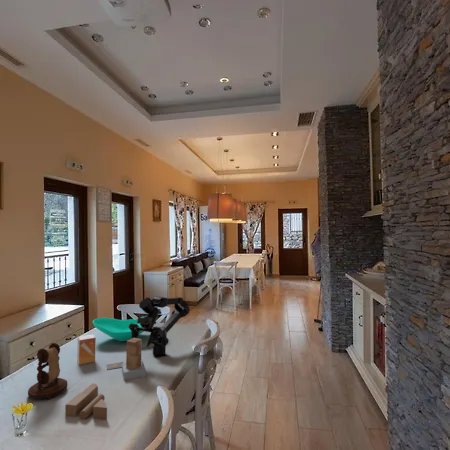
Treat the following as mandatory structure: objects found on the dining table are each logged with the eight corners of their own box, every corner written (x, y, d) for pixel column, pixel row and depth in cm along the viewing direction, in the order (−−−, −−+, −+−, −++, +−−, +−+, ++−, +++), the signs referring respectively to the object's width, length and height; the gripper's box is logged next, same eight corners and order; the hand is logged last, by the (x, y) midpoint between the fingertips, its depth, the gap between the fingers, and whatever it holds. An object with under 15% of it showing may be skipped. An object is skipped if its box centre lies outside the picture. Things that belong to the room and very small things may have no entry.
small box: (78, 365, 156) (79, 340, 157) (77, 361, 162) (77, 336, 162) (95, 361, 161) (95, 337, 161) (93, 357, 166) (93, 334, 167)
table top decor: (157, 330, 212) (157, 311, 213) (156, 345, 185) (156, 323, 186) (97, 334, 204) (97, 314, 205) (87, 349, 177) (87, 327, 178)
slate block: (142, 368, 154) (142, 360, 154) (145, 377, 145) (145, 368, 145) (121, 372, 150) (122, 363, 150) (123, 381, 141) (123, 372, 141)
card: (122, 362, 160) (122, 361, 160) (123, 367, 154) (123, 366, 154) (106, 365, 157) (106, 364, 157) (106, 369, 151) (106, 369, 151)
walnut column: (132, 363, 150) (133, 337, 151) (141, 365, 149) (141, 339, 149) (126, 368, 146) (126, 340, 146) (134, 369, 144) (135, 342, 144)
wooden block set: (63, 403, 113) (91, 380, 131) (63, 418, 113) (91, 393, 130) (105, 407, 110) (128, 383, 128) (105, 422, 110) (128, 396, 128)
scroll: (50, 403, 122) (51, 353, 122) (18, 399, 124) (19, 351, 125) (74, 385, 136) (75, 340, 137) (46, 382, 139) (47, 338, 139)
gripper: (130, 308, 162) (116, 336, 152) (160, 312, 156) (148, 341, 146) (139, 318, 170) (126, 345, 160) (168, 322, 164) (157, 351, 153)
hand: (139, 345), depth 154 cm, fingers open, 9 cm apart
